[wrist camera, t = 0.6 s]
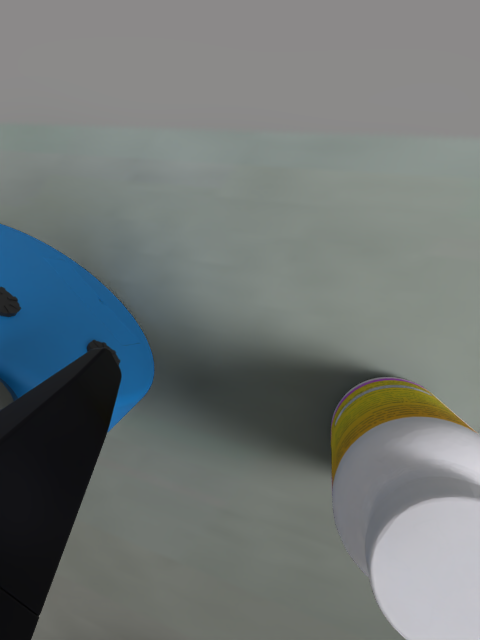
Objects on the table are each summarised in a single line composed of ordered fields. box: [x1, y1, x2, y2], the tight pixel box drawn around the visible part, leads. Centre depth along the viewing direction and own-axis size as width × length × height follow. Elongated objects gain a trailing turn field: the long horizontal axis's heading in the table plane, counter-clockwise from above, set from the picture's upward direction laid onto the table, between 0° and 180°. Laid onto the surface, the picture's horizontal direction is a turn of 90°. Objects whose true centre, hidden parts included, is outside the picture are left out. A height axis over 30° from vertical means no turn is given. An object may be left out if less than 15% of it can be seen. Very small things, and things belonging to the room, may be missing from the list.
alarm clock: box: [0, 224, 154, 433], centre depth 20 cm, size 13×6×15 cm, turn 44°
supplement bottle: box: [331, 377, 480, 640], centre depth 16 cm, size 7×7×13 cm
